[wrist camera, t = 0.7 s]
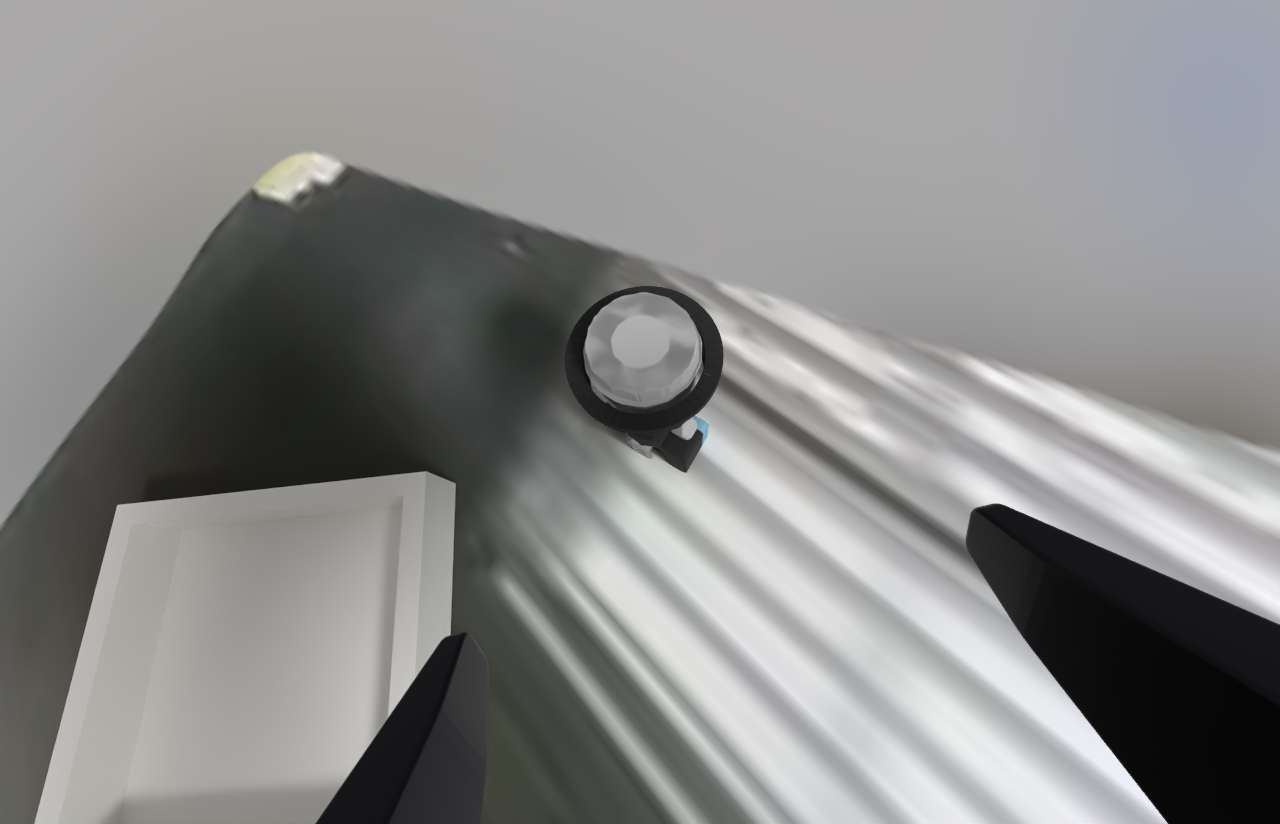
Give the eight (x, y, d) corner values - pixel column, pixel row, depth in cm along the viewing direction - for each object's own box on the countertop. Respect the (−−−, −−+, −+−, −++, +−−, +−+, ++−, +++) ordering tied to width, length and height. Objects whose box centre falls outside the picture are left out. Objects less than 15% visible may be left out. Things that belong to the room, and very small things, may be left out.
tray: (443, 845, 20) (403, 889, 17) (102, 867, 21) (11, 912, 18) (455, 483, 25) (426, 471, 22) (179, 513, 26) (117, 505, 23)
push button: (565, 437, 25) (492, 353, 16) (619, 354, 27) (582, 231, 17) (677, 502, 24) (671, 452, 14) (729, 411, 25) (755, 310, 16)
